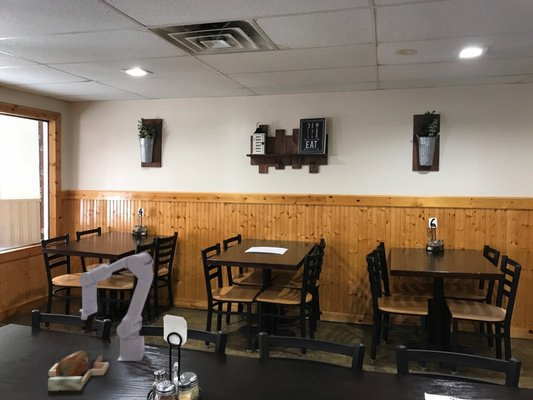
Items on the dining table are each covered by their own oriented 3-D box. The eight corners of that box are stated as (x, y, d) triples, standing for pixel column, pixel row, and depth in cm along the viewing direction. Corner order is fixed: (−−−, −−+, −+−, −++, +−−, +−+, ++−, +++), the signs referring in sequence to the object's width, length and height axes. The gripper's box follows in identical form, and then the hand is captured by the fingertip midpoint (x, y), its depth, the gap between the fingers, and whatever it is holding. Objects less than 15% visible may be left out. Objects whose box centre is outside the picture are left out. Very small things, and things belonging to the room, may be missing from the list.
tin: (61, 386, 155) (60, 363, 154) (54, 384, 156) (53, 361, 155) (90, 369, 169) (90, 347, 169) (84, 367, 170) (84, 346, 170)
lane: (102, 360, 177) (102, 350, 177) (80, 390, 152) (80, 378, 152) (74, 360, 177) (74, 350, 176) (47, 390, 151) (47, 379, 151)
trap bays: (108, 367, 171) (108, 362, 171) (103, 375, 164) (103, 369, 164) (56, 368, 169) (56, 363, 169) (48, 376, 162) (48, 371, 162)
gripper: (85, 295, 191) (85, 325, 191) (73, 304, 176) (73, 337, 177) (102, 294, 191) (102, 325, 192) (91, 304, 177) (91, 336, 177)
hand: (89, 331), depth 184 cm, fingers closed
